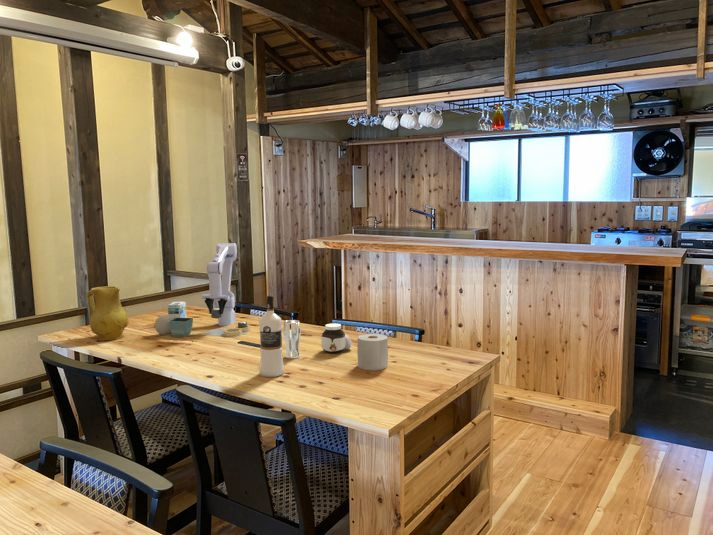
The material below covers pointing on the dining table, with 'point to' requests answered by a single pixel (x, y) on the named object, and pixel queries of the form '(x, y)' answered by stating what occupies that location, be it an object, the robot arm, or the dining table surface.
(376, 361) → the toilet paper roll
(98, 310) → the pitcher
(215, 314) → the cap
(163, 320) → the ball
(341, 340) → the spread jar
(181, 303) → the light bulb box
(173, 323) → the flower pot
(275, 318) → the vodka
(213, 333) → the board
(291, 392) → the dining table surface
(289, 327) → the beer glass
